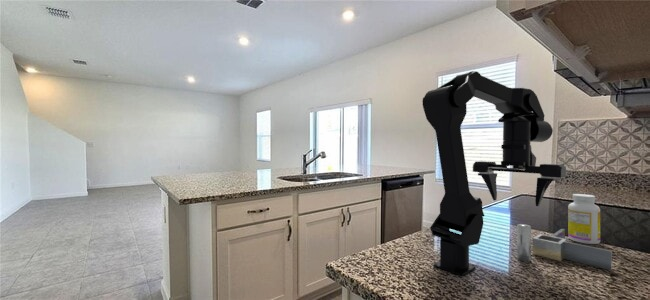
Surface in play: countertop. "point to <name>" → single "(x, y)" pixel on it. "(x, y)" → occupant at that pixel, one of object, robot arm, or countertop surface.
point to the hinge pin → (524, 242)
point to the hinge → (570, 250)
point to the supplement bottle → (584, 219)
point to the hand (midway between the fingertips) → (515, 203)
